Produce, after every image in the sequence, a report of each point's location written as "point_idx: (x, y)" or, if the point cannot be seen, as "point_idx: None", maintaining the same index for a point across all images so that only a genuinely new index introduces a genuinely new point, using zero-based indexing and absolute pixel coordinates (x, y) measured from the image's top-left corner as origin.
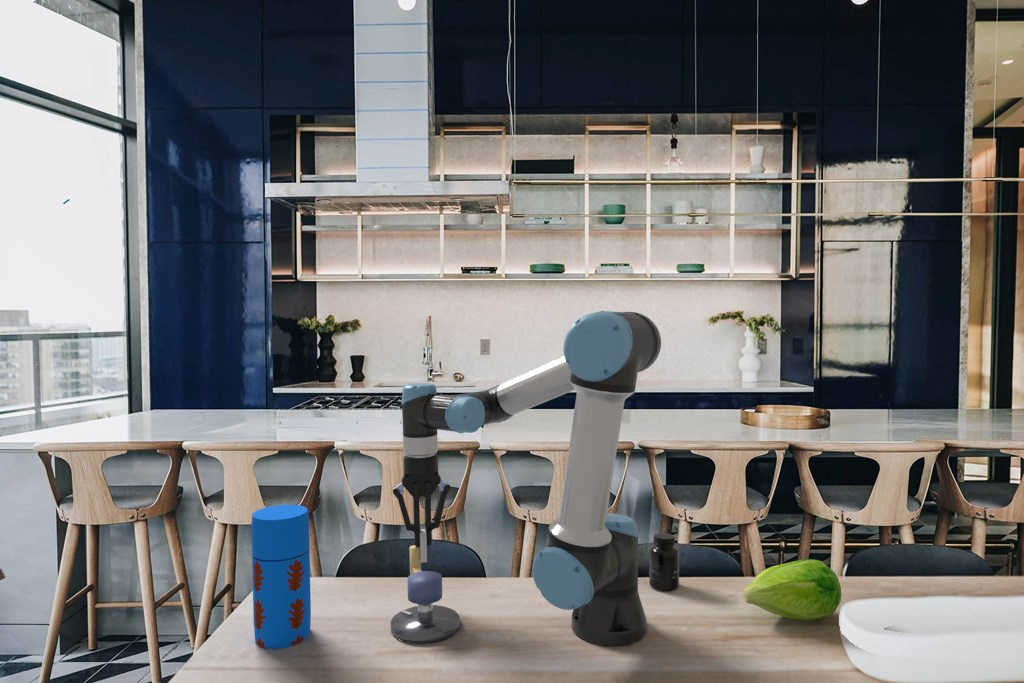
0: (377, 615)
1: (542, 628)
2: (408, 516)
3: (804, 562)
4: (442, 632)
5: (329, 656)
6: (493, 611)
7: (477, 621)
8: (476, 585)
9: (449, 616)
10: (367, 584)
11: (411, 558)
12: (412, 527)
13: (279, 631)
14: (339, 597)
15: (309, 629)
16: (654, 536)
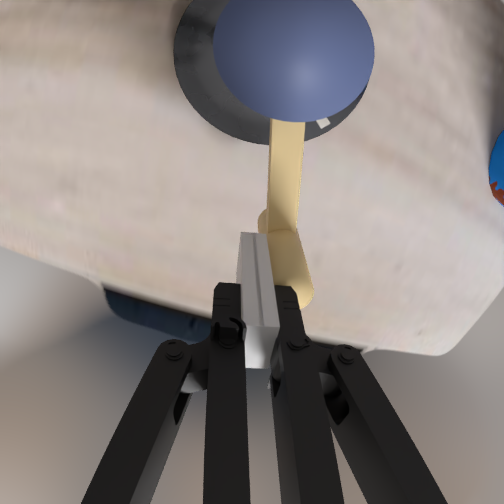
0: (371, 166)
1: (14, 6)
2: (365, 417)
3: None
4: None
5: (484, 41)
6: (81, 97)
7: (129, 48)
8: (106, 247)
9: (202, 50)
10: (339, 315)
11: (303, 255)
12: (322, 363)
13: None
14: (405, 277)
15: (499, 150)
16: None
